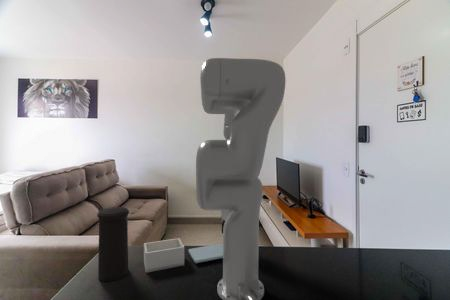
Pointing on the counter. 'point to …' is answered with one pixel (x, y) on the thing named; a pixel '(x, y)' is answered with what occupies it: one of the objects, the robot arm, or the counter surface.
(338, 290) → the counter surface
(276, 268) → the counter surface
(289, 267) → the counter surface
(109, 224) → the container
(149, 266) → the tub
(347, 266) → the counter surface
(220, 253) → the lid
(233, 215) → the robot arm
